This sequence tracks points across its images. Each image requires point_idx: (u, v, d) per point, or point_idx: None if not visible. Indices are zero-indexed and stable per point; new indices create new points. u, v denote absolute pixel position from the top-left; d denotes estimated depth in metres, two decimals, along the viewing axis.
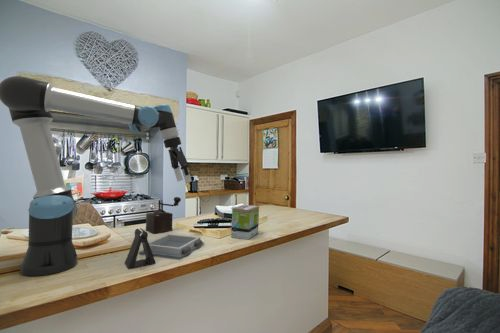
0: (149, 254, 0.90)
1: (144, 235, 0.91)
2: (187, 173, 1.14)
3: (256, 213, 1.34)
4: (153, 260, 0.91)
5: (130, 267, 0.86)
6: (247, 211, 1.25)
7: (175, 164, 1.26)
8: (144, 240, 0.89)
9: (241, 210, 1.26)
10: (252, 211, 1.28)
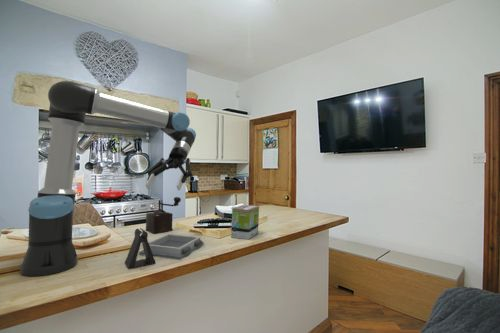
0: (149, 254, 0.90)
1: (144, 235, 0.91)
2: (184, 180, 1.06)
3: (256, 213, 1.34)
4: (153, 260, 0.91)
5: (130, 267, 0.86)
6: (247, 211, 1.25)
7: (157, 171, 1.11)
8: (144, 240, 0.89)
9: (241, 210, 1.26)
10: (252, 211, 1.28)
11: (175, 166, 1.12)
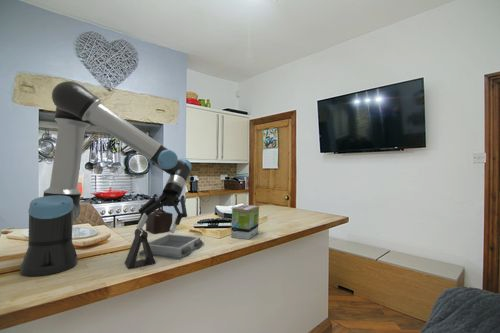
0: (149, 254, 0.90)
1: (144, 235, 0.91)
2: (179, 222, 0.99)
3: (256, 213, 1.34)
4: (153, 260, 0.91)
5: (130, 267, 0.86)
6: (247, 211, 1.25)
7: (150, 210, 1.04)
8: (144, 240, 0.89)
9: (241, 210, 1.26)
10: (252, 211, 1.28)
11: (169, 204, 1.05)
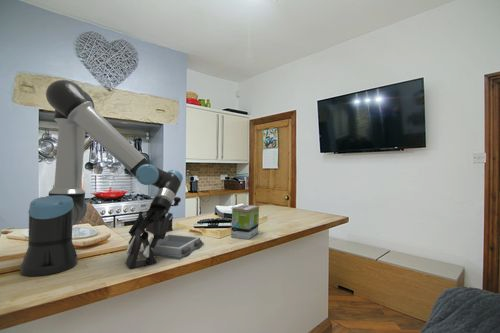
0: (150, 254, 0.90)
1: (145, 235, 0.91)
2: (154, 245, 0.91)
3: (256, 213, 1.34)
4: (154, 260, 0.90)
5: (131, 267, 0.86)
6: (247, 211, 1.25)
7: None
8: (145, 240, 0.89)
9: (241, 210, 1.26)
10: (252, 211, 1.28)
11: None
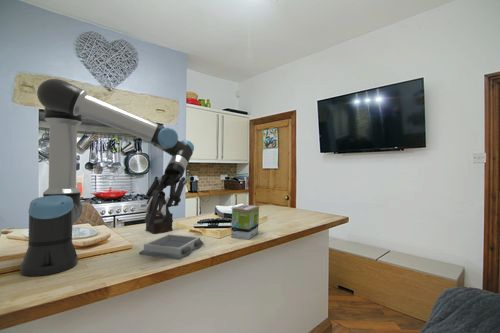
0: (167, 212, 0.96)
1: (161, 195, 0.97)
2: (170, 204, 0.97)
3: (256, 213, 1.34)
4: (170, 218, 0.97)
5: (150, 223, 0.92)
6: (247, 211, 1.25)
7: None
8: (162, 199, 0.95)
9: (241, 210, 1.26)
10: (252, 211, 1.28)
11: None
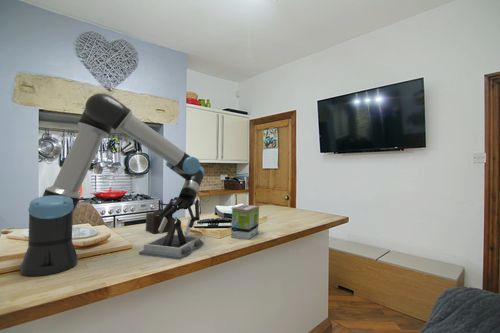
0: (182, 239, 1.06)
1: (178, 223, 1.07)
2: (192, 225, 1.08)
3: (256, 213, 1.34)
4: None
5: None
6: (247, 211, 1.25)
7: (169, 214, 1.13)
8: (178, 227, 1.05)
9: (241, 210, 1.26)
10: (252, 211, 1.28)
11: (185, 207, 1.15)
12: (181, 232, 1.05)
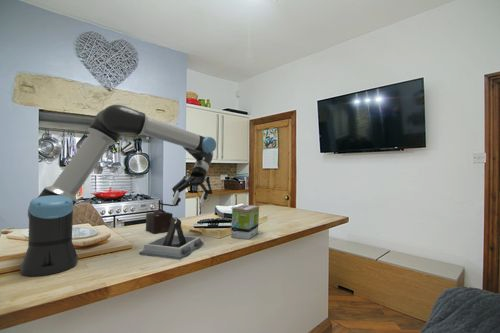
0: (182, 239, 1.06)
1: (178, 223, 1.07)
2: (206, 197, 1.21)
3: (256, 213, 1.34)
4: None
5: None
6: (247, 211, 1.25)
7: (181, 188, 1.26)
8: (178, 227, 1.05)
9: (241, 210, 1.26)
10: (252, 211, 1.28)
11: (197, 184, 1.27)
12: (181, 232, 1.05)
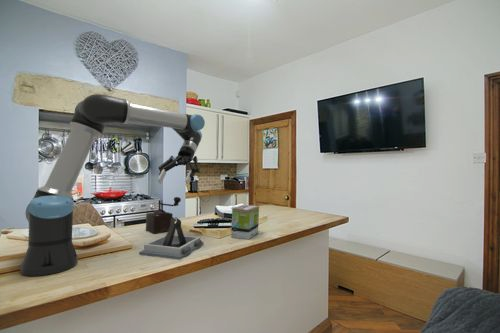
0: (182, 239, 1.06)
1: (178, 223, 1.07)
2: (192, 176, 1.18)
3: (256, 213, 1.34)
4: None
5: None
6: (247, 211, 1.25)
7: (168, 168, 1.24)
8: (178, 227, 1.05)
9: (241, 210, 1.26)
10: (252, 211, 1.28)
11: (184, 163, 1.25)
12: (181, 232, 1.05)
